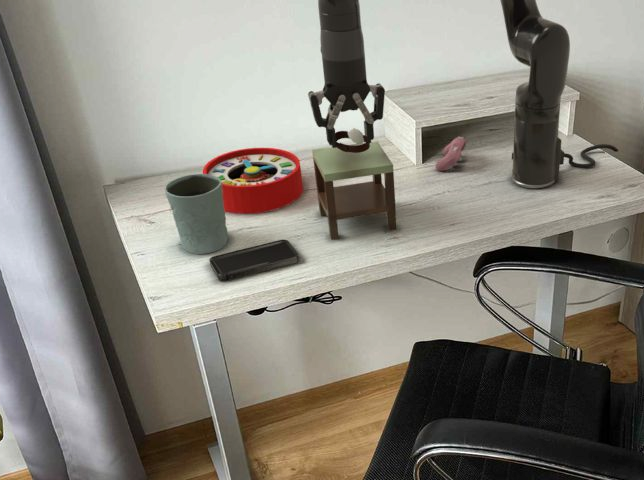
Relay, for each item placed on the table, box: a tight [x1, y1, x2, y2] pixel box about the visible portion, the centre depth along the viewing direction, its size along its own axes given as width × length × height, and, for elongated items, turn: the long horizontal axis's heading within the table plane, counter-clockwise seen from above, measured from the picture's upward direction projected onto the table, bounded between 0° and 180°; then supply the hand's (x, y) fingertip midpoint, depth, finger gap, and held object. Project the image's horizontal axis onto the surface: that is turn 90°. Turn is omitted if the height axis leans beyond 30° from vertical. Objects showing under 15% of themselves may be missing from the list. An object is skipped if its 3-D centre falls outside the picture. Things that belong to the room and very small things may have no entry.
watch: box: [335, 127, 370, 153], centre depth 152 cm, size 8×5×4 cm, turn 59°
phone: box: [208, 239, 300, 282], centre depth 149 cm, size 8×1×15 cm
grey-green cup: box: [164, 173, 229, 255], centre depth 152 cm, size 10×10×12 cm
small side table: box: [311, 140, 398, 241], centre depth 158 cm, size 13×12×14 cm
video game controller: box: [435, 135, 468, 172], centre depth 182 cm, size 10×5×7 cm, turn 168°
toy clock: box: [202, 147, 304, 215], centre depth 171 cm, size 20×6×20 cm
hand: (351, 143), depth 153 cm, fingers closed on watch, 6 cm apart
